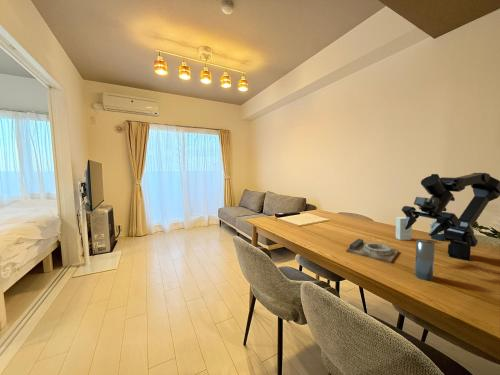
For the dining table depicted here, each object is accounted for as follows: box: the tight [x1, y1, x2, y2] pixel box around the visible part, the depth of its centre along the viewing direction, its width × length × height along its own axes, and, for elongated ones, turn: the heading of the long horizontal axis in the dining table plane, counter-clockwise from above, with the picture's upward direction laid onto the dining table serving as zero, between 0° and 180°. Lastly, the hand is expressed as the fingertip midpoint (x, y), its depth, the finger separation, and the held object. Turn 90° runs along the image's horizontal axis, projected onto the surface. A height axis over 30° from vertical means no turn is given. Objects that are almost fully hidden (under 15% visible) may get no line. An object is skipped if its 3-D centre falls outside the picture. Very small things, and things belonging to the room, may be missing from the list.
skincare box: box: [395, 216, 413, 241], centre depth 114 cm, size 6×4×12 cm
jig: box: [345, 238, 400, 264], centre depth 98 cm, size 18×16×3 cm
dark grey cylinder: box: [414, 239, 436, 282], centre depth 74 cm, size 5×5×13 cm
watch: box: [429, 219, 446, 242], centre depth 112 cm, size 6×8×11 cm
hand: (417, 232), depth 82 cm, fingers open, 9 cm apart
